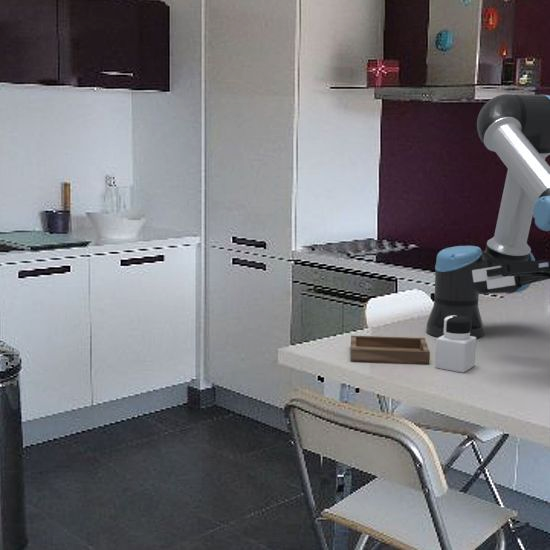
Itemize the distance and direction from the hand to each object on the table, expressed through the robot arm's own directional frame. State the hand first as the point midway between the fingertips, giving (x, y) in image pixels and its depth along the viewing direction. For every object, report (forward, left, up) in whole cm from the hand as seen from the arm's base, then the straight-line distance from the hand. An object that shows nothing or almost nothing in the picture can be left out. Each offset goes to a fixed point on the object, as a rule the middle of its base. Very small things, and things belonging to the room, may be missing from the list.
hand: (480, 280), depth 196 cm
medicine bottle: (+2, -5, -21) cm, 21 cm away
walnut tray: (-6, -20, -20) cm, 29 cm away
